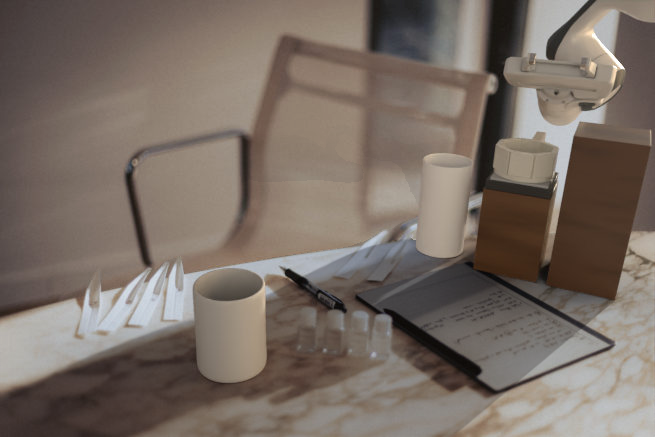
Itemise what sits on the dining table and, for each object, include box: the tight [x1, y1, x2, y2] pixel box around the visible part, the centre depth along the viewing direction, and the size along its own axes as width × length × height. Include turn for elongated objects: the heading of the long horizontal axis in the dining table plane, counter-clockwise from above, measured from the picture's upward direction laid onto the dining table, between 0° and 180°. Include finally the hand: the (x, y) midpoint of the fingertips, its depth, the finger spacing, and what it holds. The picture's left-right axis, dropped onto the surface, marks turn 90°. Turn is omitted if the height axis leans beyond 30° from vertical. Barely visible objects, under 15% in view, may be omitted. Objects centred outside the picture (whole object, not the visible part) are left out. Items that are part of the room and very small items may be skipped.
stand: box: [472, 120, 652, 301], centre depth 97 cm, size 10×22×24 cm, turn 65°
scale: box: [484, 169, 559, 199], centre depth 98 cm, size 10×10×2 cm
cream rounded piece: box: [492, 131, 560, 183], centre depth 102 cm, size 22×9×4 cm, turn 154°
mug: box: [192, 267, 268, 384], centre depth 76 cm, size 12×8×11 cm
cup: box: [415, 152, 474, 259], centre depth 106 cm, size 8×8×16 cm
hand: (557, 59), depth 113 cm, fingers open, 8 cm apart
